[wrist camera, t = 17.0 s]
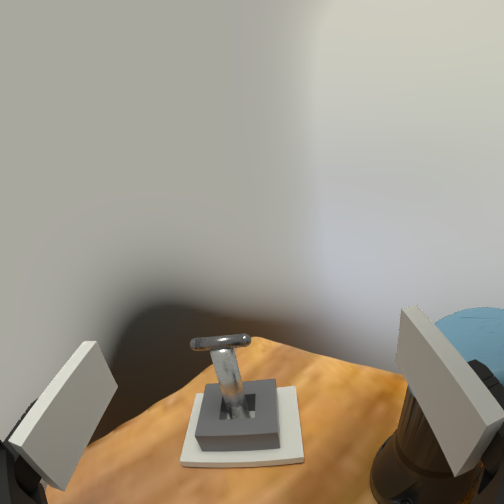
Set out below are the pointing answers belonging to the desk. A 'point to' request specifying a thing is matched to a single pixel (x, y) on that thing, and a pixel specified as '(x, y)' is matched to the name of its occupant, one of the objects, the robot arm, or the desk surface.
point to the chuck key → (227, 369)
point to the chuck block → (244, 429)
